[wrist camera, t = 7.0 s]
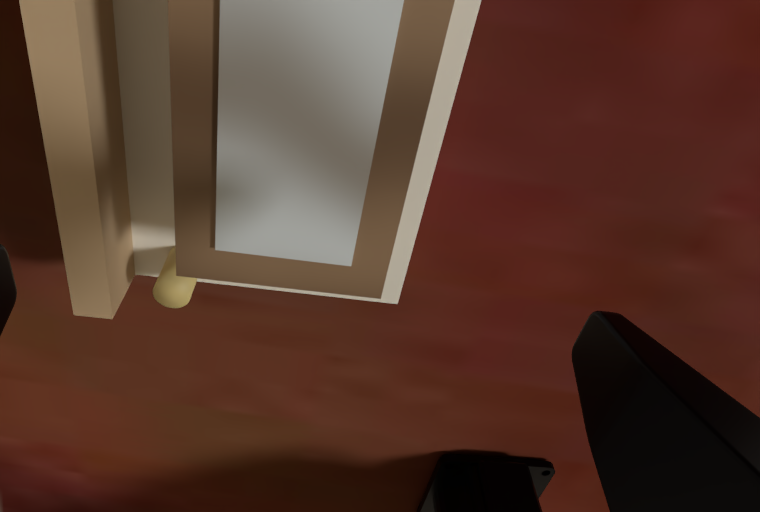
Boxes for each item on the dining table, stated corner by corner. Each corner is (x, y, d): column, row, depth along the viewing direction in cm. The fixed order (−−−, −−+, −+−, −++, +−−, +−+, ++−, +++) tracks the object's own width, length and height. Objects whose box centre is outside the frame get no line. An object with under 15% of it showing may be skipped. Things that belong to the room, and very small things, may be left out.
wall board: (395, 284, 22) (402, 348, 20) (111, 251, 21) (73, 315, 18) (529, -222, 13) (581, -245, 10) (44, -354, 12) (-56, -425, 9)
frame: (375, 235, 20) (380, 302, 17) (202, 212, 19) (174, 279, 16) (447, -91, 14) (475, -78, 11) (203, -147, 13) (161, -149, 10)
